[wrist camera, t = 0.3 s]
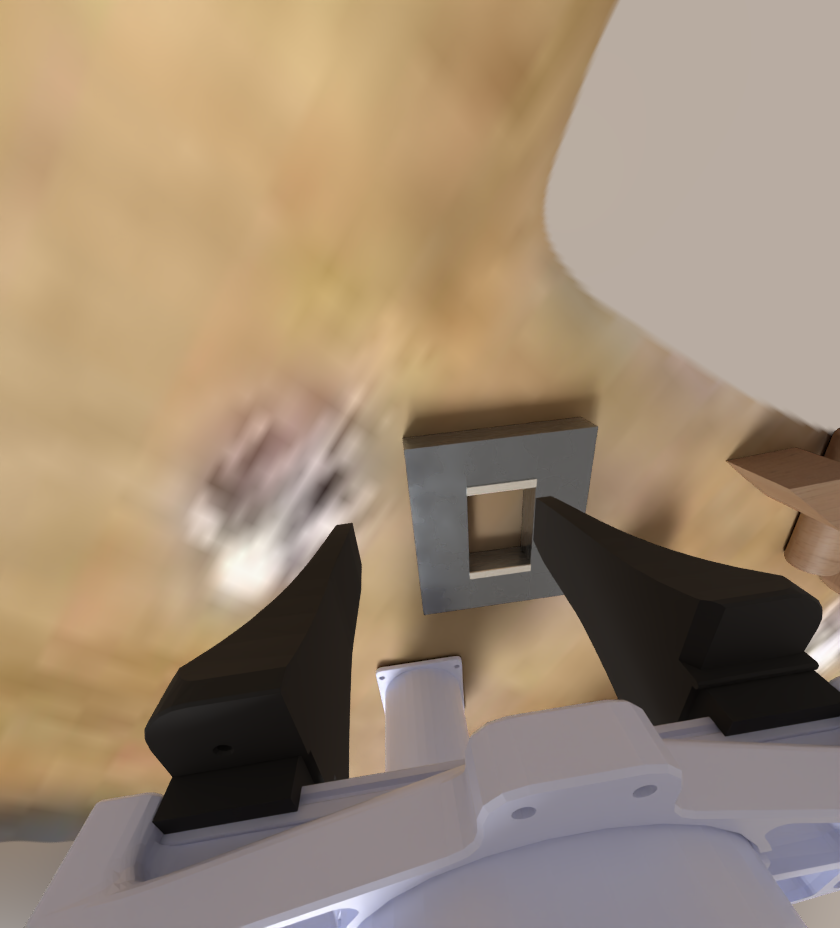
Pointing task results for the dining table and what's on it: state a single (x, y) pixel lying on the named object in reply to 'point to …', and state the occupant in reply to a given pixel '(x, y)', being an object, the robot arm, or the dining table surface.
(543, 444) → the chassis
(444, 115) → the dining table surface
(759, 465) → the wooden block set
